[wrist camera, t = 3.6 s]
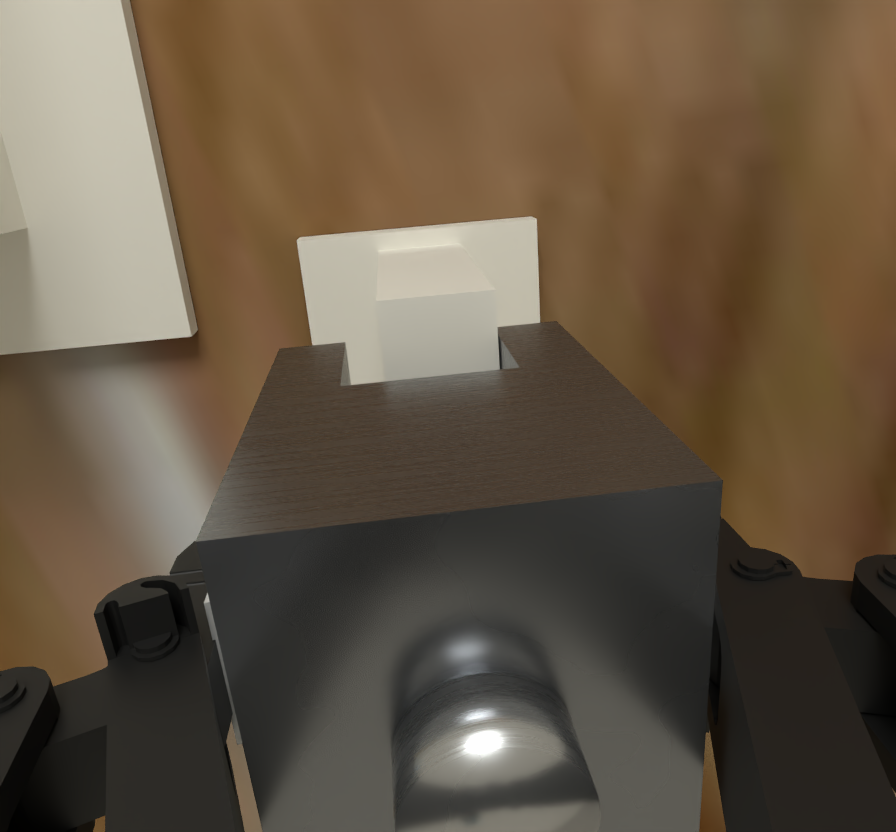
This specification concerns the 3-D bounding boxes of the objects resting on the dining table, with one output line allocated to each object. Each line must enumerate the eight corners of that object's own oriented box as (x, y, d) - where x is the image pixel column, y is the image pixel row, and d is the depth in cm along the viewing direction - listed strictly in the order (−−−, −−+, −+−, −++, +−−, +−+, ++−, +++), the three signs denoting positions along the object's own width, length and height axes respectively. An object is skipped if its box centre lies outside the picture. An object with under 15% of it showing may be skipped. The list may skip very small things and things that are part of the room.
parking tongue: (343, 530, 25) (326, 693, 18) (299, 237, 22) (255, 286, 14) (541, 508, 26) (607, 659, 18) (531, 216, 22) (607, 254, 15)
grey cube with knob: (324, 621, 18) (283, 1058, 9) (279, 348, 15) (167, 606, 7) (562, 591, 18) (731, 985, 10) (556, 321, 16) (777, 531, 7)
